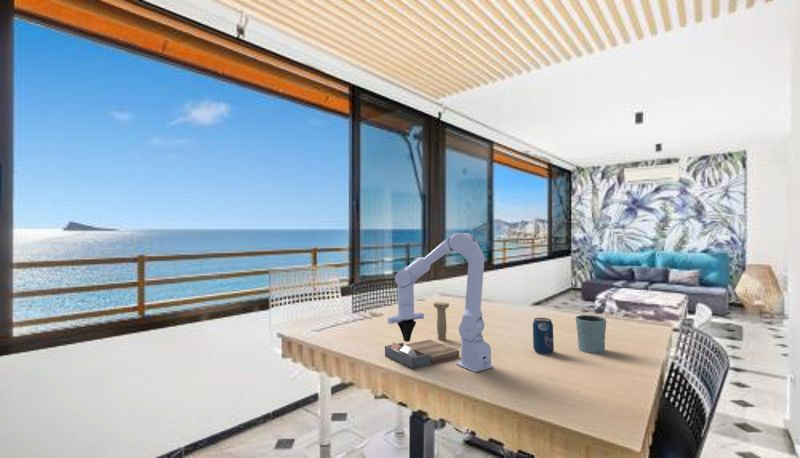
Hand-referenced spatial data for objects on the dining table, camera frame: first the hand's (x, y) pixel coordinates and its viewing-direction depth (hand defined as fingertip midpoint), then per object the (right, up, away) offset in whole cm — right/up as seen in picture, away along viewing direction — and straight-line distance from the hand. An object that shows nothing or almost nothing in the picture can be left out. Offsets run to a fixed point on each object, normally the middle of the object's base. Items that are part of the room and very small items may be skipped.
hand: (406, 341), depth 131 cm
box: (0, -5, -5) cm, 7 cm away
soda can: (+50, -5, +2) cm, 50 cm away
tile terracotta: (-2, -1, -1) cm, 3 cm away
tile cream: (+1, -1, -7) cm, 8 cm away
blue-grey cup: (+68, -5, +3) cm, 69 cm away
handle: (+15, -6, +21) cm, 26 cm away
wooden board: (+9, -5, +1) cm, 10 cm away
